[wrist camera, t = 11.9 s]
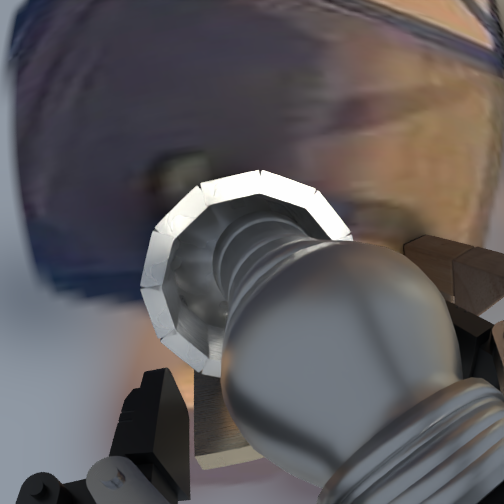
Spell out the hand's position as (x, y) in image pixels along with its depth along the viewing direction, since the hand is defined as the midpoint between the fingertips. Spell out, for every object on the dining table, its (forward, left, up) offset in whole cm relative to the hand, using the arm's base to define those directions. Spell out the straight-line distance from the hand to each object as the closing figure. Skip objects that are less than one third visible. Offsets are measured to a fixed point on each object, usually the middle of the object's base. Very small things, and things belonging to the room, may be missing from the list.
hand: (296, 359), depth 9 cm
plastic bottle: (0, +1, -13) cm, 13 cm away
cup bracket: (+2, 0, -16) cm, 16 cm away
